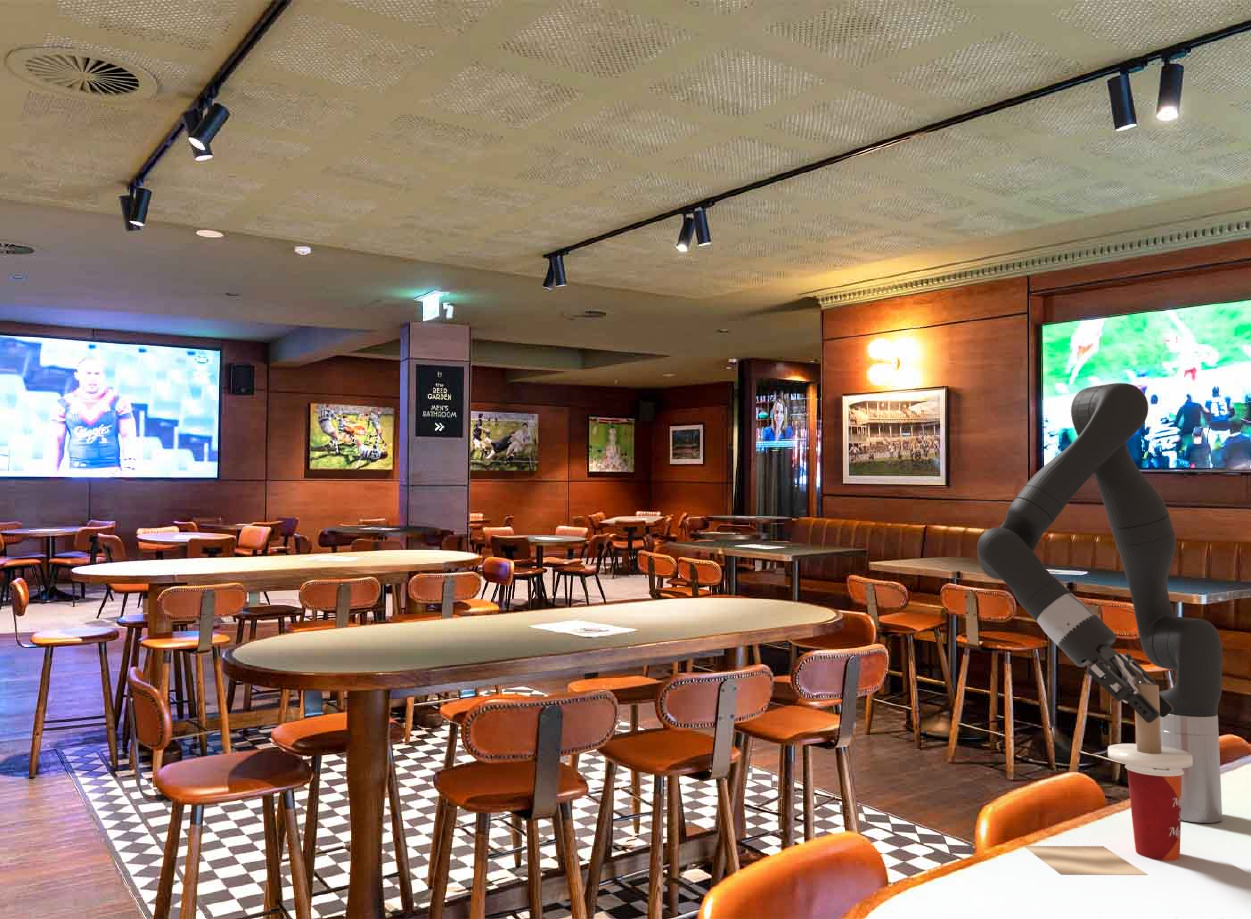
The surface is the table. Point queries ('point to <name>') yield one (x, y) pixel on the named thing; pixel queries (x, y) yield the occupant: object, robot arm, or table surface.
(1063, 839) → the table surface
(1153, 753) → the beige peg stand
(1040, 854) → the cork mat
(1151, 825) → the paper cup
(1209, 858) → the table surface
